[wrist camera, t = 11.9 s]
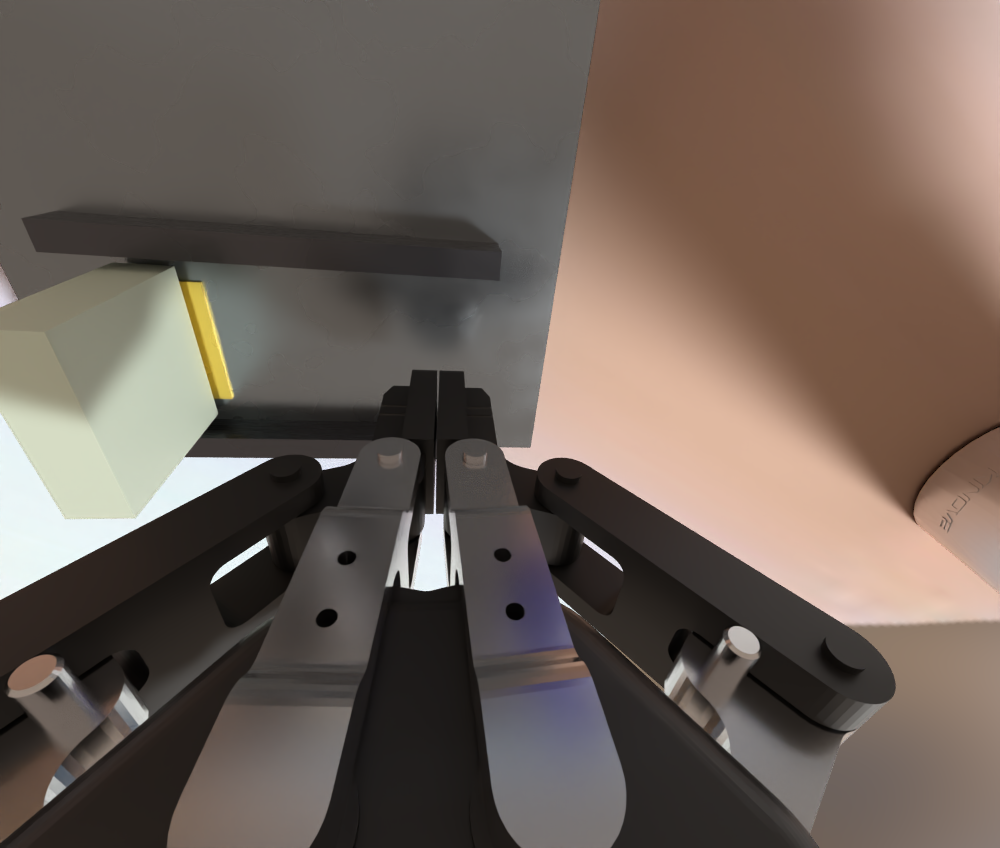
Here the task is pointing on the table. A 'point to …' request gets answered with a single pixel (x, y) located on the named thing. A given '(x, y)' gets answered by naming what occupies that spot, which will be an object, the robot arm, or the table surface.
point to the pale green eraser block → (104, 386)
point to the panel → (306, 190)
